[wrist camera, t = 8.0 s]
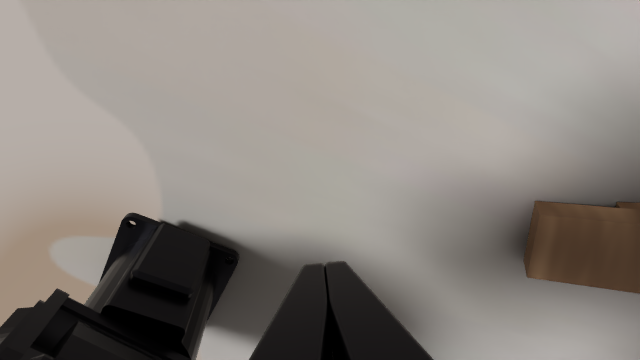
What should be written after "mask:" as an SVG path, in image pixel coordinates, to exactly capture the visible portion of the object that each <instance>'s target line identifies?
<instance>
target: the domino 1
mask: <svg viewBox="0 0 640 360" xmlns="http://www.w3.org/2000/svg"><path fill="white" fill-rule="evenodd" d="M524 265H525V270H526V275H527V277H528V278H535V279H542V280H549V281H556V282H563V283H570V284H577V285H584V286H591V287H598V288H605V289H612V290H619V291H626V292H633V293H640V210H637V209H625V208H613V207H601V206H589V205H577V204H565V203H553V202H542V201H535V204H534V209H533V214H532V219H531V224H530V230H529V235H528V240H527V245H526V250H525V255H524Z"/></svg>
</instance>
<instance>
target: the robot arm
mask: <svg viewBox="0 0 640 360" xmlns="http://www.w3.org/2000/svg"><path fill="white" fill-rule="evenodd" d="M129 221H134V222H135V223H136V225H133V224H131V223H130V222H129ZM228 257H230V258H232V259H233V260H228V259H227V258H228ZM238 260H239V254H238V253H237V252H236V251H234V250H232V249H229V248H227V247H224V246H221V245H219V244H216V243H213V242H211V241H208V240H207V239H204V238H202V237H199V236H196V235H194V234H191V233H188V232H186V231H183V230H181V229H178V228H175V227H173V226H170V225H167V224H163V223H161V222H158V221H155V220H153V219H150V218H147V217H145V216H142V215H139V214H136V213H129V214H127V215H126V216H125V217H124V219H123V220H122V222H121V225H120V227H119V230H118V233H117V235H116V238H115V241H114V244H113V246H112V249H111V252H110V255H109V257H108V260H107V263H106V266H105V268H104V271H103V274H102V277H101V279H100V282H99V284H98V286H97V287H96V288H95V290H94V292H93V293H92V294H91V296H90V297H89V298H88V300H87V301H86V303H85V304H84V305H83V304H81V303H79V302H77V301H75V300H73V299H71V298H69V297H68V296H69V294H67V293H66V292H63V291H62V290H60V289H56V290H55V291H54V293H53V294H52V295H51V296H50V297H49V298H48V299H47V301H46V302H43V301H41V300H40V301H38V303H37V304H36V305H35V306H34V307H30V308H18V309H17V310H16V311H15V312H14V313H13V314H12V315H11V316H10V317H9V318H8V319H7V321H6V322H5V323H4V324H3V325H2V326H1V327H0V360H196V357H197V354H198V350H199V346H200V343H201V339H202V336H203V332H204V329H205V325H206V322H207V320H208V319H209V317H210V315H211V313H212V311H213V309H214V307H215V305H216V304H217V302H218V300H219V298H220V296H221V294H222V292H223V290H224V289H225V287H226V285H227V283H228V281H229V279H230V277H231V275H232V274H233V272H234V270H235V268H236V266H237V264H238ZM332 354H333V355H332ZM249 360H433V359H432V357H431V356H430V355H429V354H428V353H427V352H426V351H425V350H424V349H423V347H422V346H421V345H420V344H419V343H418V342H417V341H416V340H415V339H414V337H413V336H412V335H411V334H410V333H409V332H408V331H407V330H406V329H405V327H404V326H403V325H402V324H401V323H400V322H399V321H398V320H397V319H396V318H395V316H394V315H393V314H392V313H391V312H390V311H389V310H388V309H387V308H386V306H385V305H384V304H383V303H382V302H381V301H380V300H379V299H378V298H377V296H376V295H375V294H374V293H373V292H372V291H371V290H370V289H369V288H368V286H367V285H366V284H365V283H364V282H363V281H362V280H361V279H360V278H359V276H358V275H357V274H356V273H355V272H354V271H353V270H352V269H351V268H350V266H349V265H348V264H347V263H346V262H344V261H338V262H328V263H326V264H325V267H324V264H322V263H316V264H306V265H304V266H303V267H302V269H301V271H300V272H299V274H298V276H297V278H296V279H295V281H294V283H293V284H292V286H291V288H290V290H289V291H288V293H287V295H286V297H285V298H284V300H283V302H282V303H281V305H280V307H279V309H278V310H277V312H276V314H275V316H274V317H273V319H272V321H271V323H270V324H269V326H268V328H267V329H266V331H265V333H264V335H263V336H262V338H261V340H260V342H259V343H258V345H257V347H256V348H255V350H254V352H253V354H252V355H251V357H250V359H249Z"/></svg>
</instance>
